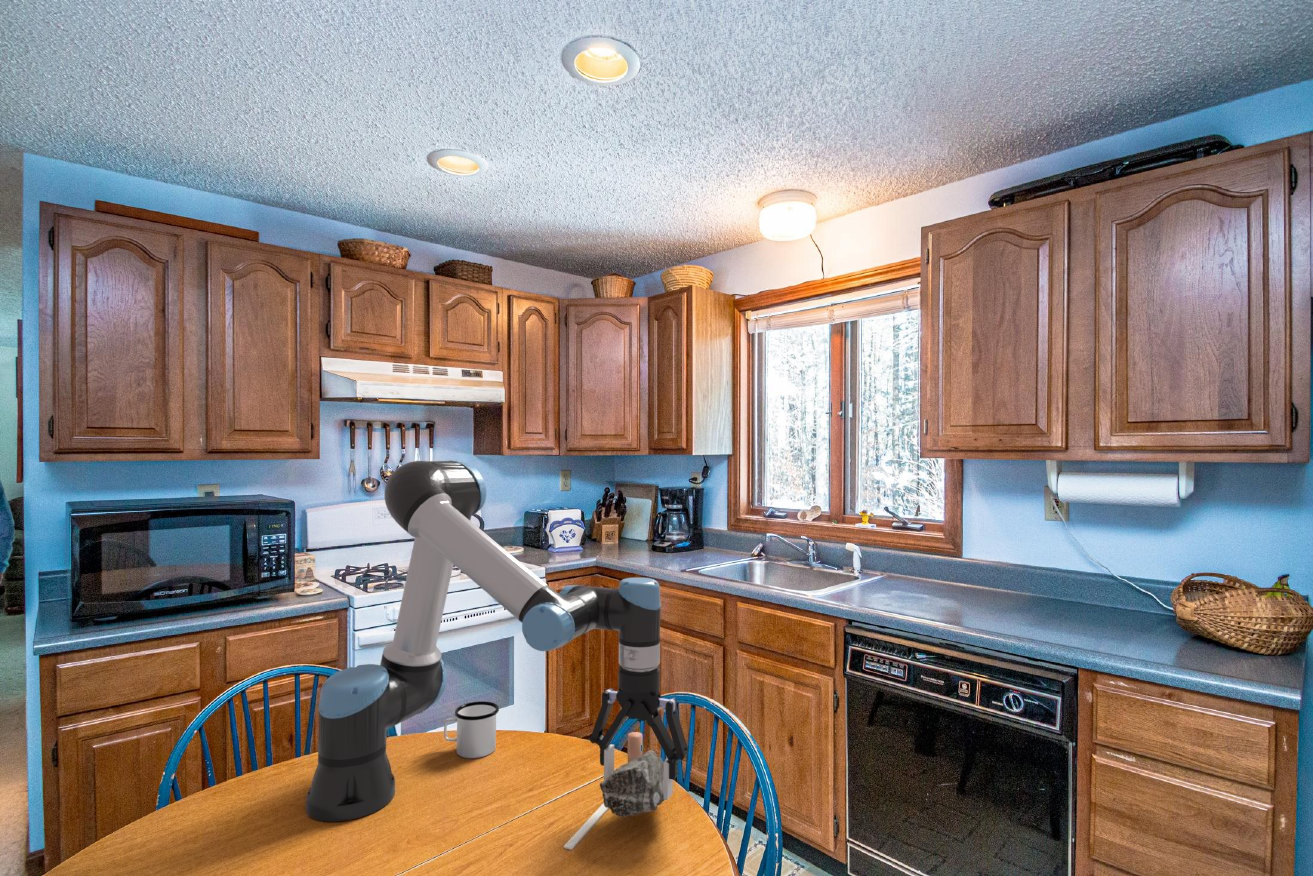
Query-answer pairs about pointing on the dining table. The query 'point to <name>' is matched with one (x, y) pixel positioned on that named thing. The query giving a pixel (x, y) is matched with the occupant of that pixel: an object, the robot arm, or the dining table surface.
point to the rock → (635, 786)
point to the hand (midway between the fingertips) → (637, 790)
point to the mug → (475, 729)
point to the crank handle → (633, 753)
